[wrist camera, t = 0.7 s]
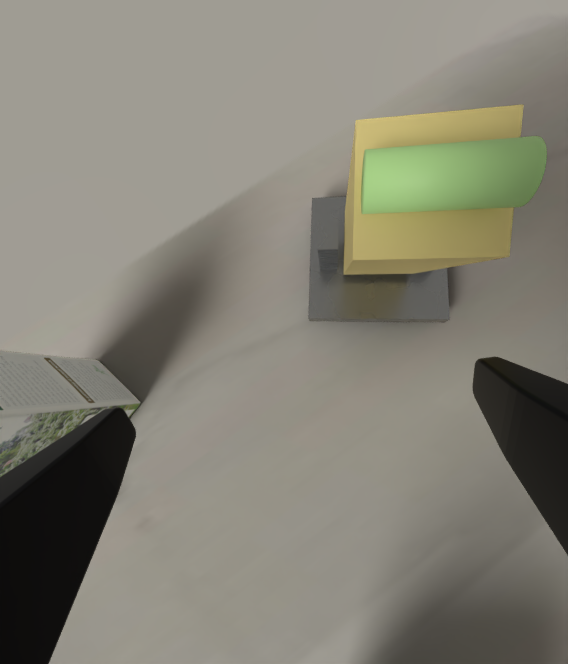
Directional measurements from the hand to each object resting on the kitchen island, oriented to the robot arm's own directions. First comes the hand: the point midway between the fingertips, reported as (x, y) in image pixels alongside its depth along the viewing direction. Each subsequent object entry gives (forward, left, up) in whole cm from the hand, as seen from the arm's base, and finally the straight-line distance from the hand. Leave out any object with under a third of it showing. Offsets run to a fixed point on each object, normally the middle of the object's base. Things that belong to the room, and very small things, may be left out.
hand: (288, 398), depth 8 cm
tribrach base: (+3, -10, -15) cm, 18 cm away
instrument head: (+3, -10, -11) cm, 15 cm away
